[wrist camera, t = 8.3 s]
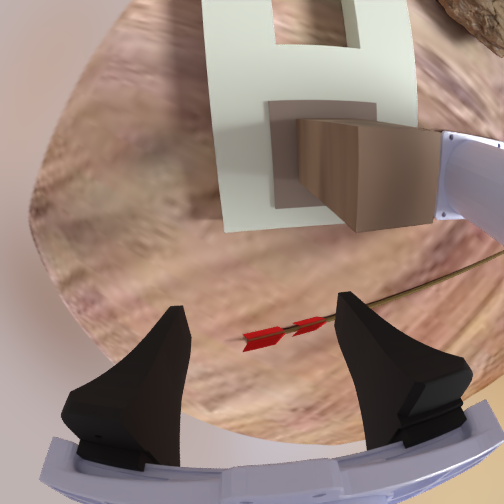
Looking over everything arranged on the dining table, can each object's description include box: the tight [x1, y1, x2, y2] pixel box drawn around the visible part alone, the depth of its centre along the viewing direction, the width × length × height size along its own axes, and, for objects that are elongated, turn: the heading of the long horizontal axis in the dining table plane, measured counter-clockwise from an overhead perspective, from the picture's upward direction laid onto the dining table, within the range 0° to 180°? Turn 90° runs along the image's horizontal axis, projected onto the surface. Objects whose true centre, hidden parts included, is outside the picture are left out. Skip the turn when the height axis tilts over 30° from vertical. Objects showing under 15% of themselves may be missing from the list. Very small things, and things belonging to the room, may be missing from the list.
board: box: [202, 0, 418, 233], centre depth 16 cm, size 14×20×3 cm
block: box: [296, 118, 441, 233], centre depth 13 cm, size 4×4×8 cm
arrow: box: [243, 250, 504, 352], centre depth 26 cm, size 2×35×2 cm
